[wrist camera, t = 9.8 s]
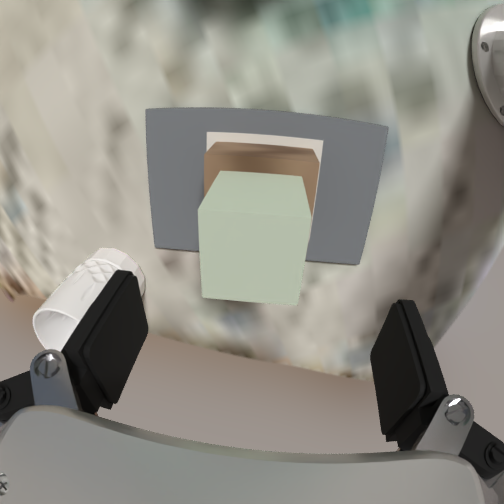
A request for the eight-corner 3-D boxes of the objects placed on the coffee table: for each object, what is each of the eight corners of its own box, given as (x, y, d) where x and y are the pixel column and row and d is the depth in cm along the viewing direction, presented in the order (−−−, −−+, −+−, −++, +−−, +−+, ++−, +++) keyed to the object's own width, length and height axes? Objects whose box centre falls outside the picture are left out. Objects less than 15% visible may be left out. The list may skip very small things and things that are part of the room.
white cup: (163, 301, 31) (130, 379, 22) (104, 307, 32) (66, 374, 24) (131, 234, 27) (78, 305, 18) (72, 248, 28) (17, 311, 20)
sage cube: (302, 176, 19) (311, 217, 13) (293, 247, 21) (297, 305, 16) (220, 170, 19) (197, 209, 14) (219, 241, 21) (202, 297, 16)
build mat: (386, 126, 20) (388, 127, 20) (358, 262, 27) (359, 264, 26) (147, 108, 21) (145, 109, 21) (156, 244, 27) (154, 247, 27)
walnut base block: (312, 148, 21) (319, 162, 18) (301, 233, 25) (305, 260, 22) (215, 141, 22) (204, 154, 18) (215, 226, 25) (205, 252, 22)
